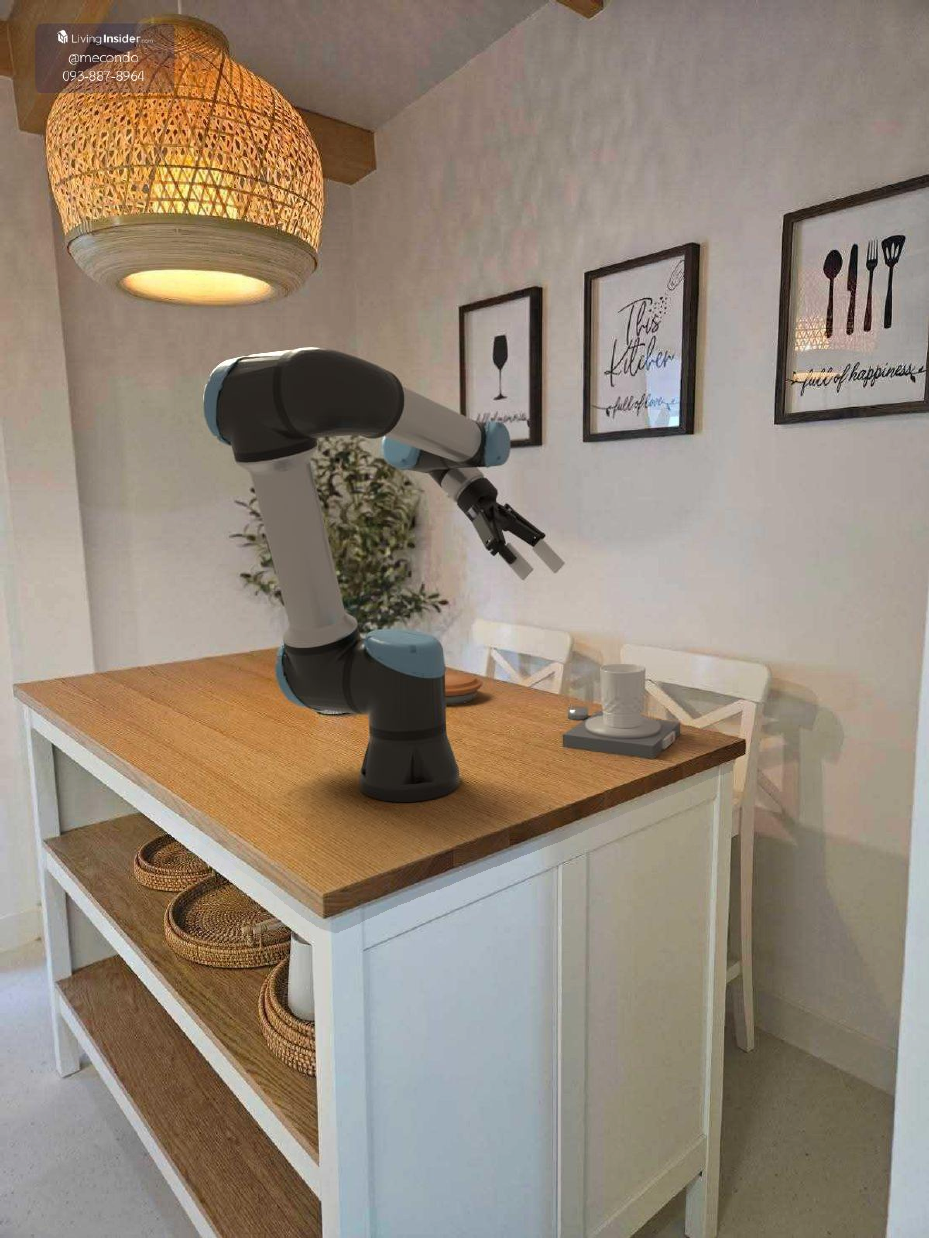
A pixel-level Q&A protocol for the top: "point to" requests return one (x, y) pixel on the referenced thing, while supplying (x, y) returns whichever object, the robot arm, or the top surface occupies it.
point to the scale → (622, 737)
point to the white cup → (622, 694)
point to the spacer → (578, 713)
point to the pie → (460, 688)
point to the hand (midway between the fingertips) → (544, 571)
